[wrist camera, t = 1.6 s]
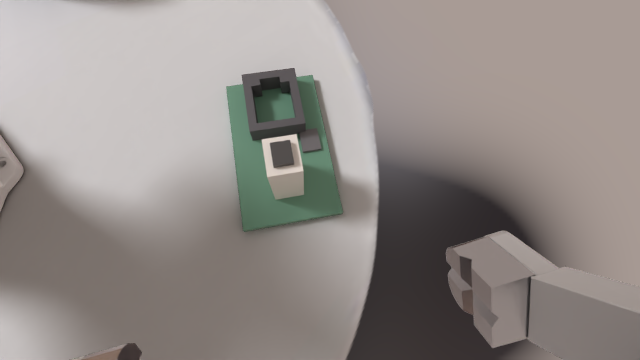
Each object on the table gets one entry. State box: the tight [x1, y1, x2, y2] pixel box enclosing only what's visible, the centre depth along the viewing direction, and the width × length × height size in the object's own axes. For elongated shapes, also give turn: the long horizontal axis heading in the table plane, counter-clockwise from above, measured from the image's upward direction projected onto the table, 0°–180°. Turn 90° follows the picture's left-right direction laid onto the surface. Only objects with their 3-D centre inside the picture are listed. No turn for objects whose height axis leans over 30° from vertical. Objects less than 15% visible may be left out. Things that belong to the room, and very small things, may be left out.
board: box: [226, 68, 343, 232], centre depth 38 cm, size 20×12×4 cm, turn 11°
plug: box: [262, 134, 304, 200], centre depth 33 cm, size 5×4×9 cm
